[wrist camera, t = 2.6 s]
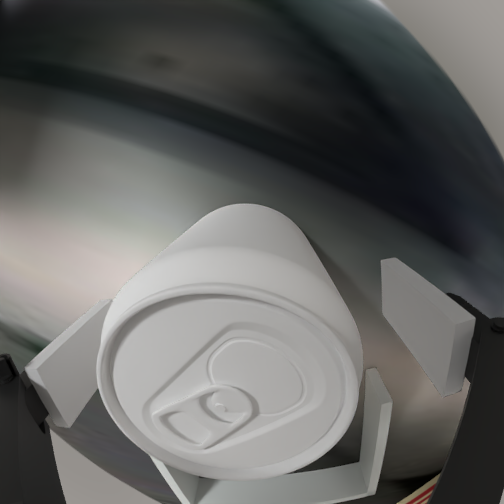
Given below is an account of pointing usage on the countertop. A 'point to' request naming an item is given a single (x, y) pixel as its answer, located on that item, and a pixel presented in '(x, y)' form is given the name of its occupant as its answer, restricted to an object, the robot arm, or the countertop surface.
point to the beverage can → (232, 350)
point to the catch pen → (305, 483)
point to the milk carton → (421, 493)
